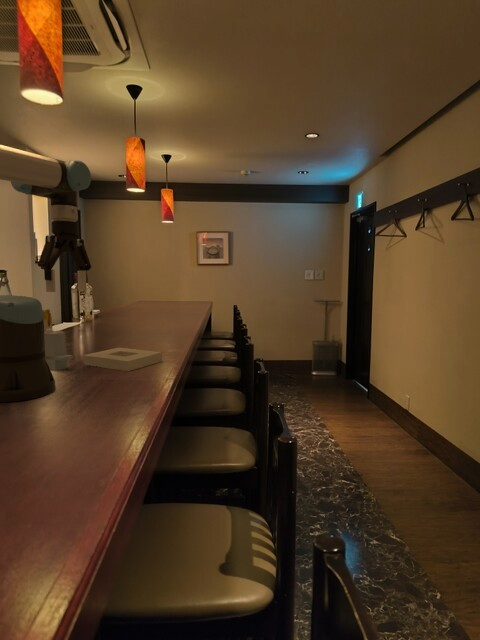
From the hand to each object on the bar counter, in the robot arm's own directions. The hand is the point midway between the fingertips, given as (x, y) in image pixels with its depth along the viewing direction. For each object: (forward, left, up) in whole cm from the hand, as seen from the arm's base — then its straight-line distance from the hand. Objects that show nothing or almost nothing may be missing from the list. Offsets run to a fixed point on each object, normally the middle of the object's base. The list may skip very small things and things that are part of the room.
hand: (67, 291), depth 130 cm
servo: (-6, +1, -23) cm, 24 cm away
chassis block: (+9, -13, -23) cm, 28 cm away
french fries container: (+5, +21, -23) cm, 32 cm away
